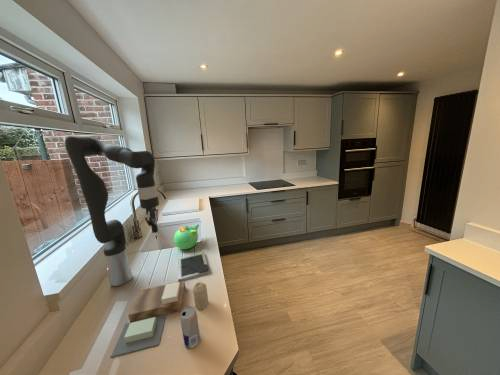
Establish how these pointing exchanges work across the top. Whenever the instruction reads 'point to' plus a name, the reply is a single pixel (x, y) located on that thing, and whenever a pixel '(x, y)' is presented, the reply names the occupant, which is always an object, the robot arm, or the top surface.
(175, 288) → the cream block
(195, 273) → the picture frame
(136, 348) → the mat
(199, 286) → the candle
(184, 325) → the energy drink
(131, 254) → the top surface
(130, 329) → the sage green block
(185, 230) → the toy bird
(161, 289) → the thick wooden panel
